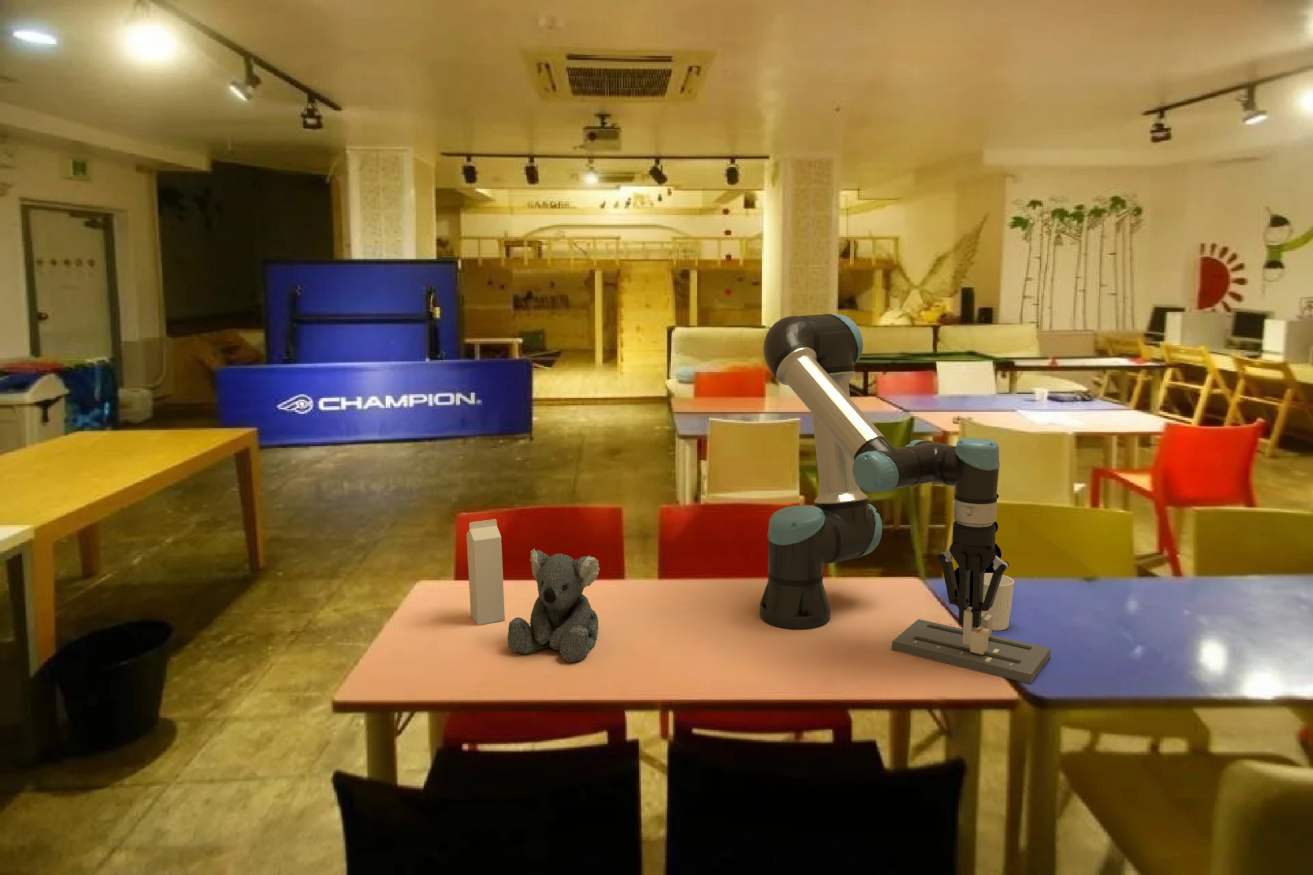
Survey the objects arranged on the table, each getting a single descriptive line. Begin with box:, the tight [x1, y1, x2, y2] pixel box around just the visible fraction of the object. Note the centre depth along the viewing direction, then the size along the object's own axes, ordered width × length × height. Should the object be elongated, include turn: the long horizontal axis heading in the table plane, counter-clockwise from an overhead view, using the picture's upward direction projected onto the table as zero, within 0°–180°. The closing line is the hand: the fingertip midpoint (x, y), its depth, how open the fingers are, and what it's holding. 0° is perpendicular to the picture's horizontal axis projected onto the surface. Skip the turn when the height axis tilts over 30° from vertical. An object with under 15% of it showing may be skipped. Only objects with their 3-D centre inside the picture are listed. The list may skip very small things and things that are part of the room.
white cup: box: [982, 573, 1015, 632], centre depth 187 cm, size 8×8×10 cm
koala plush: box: [506, 547, 601, 663], centre depth 180 cm, size 17×18×20 cm
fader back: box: [979, 613, 993, 637], centre depth 176 cm, size 2×3×4 cm
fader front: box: [970, 627, 989, 655], centre depth 170 cm, size 2×3×4 cm
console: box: [891, 618, 1052, 685], centre depth 174 cm, size 26×14×2 cm, turn 53°
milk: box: [466, 518, 506, 626], centre depth 193 cm, size 6×6×22 cm
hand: (968, 641), depth 171 cm, fingers closed
